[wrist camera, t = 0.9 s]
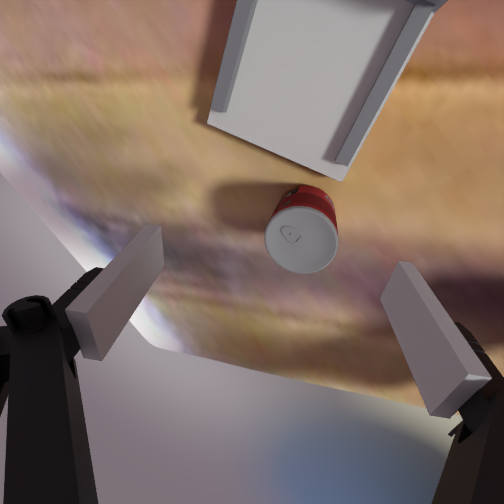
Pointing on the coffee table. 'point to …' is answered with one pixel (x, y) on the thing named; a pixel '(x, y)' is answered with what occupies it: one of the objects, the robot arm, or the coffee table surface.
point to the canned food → (303, 230)
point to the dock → (314, 74)
